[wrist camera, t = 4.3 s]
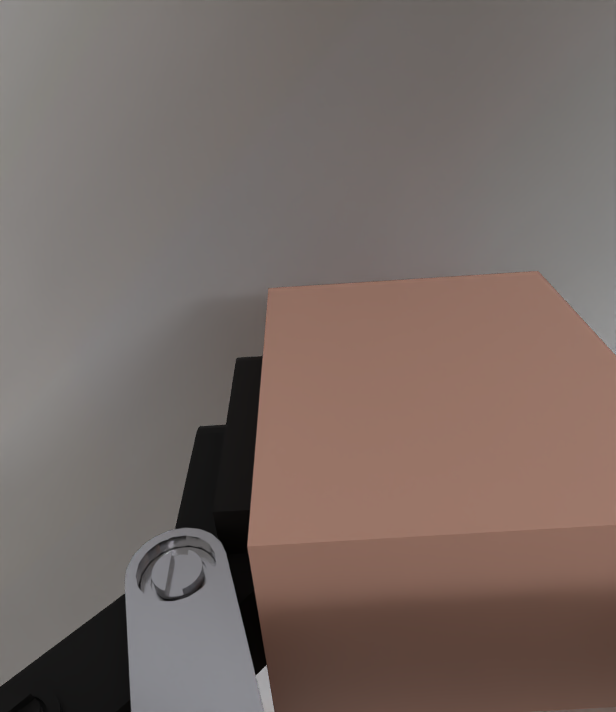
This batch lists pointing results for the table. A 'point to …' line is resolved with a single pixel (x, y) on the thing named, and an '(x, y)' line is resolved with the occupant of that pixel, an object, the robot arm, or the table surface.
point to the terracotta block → (435, 498)
